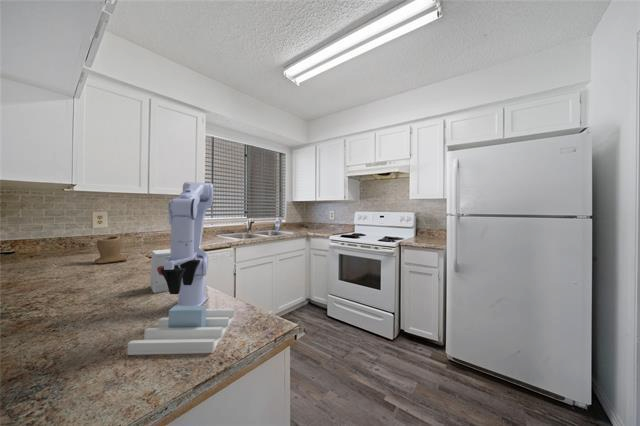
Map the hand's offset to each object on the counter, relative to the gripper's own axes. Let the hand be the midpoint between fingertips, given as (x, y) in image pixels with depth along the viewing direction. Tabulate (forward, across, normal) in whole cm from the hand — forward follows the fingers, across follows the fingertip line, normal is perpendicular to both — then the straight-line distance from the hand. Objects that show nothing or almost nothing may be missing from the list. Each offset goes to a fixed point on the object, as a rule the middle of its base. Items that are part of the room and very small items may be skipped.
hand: (181, 289), depth 68 cm
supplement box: (+10, -30, -20) cm, 37 cm away
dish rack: (+9, +6, +5) cm, 12 cm away
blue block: (+9, +6, +4) cm, 12 cm away
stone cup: (+10, -76, -73) cm, 106 cm away
